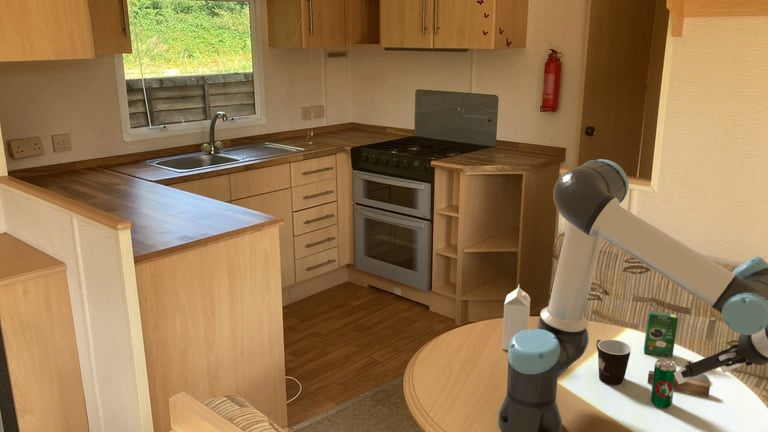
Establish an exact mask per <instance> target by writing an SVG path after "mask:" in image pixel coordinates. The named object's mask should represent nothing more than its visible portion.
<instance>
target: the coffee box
mask: <svg viewBox="0 0 768 432" xmlns="http://www.w3.org/2000/svg"><path fill="white" fill-rule="evenodd" d="M678 322H679V316H678V314H677V313H669V312H668V313H667V312H662V311H655V310H654V311H653V310H649V311H648V317H647V324H646V330H645V336H644V345H643V353H644V354H647V355H653V356H661V357H665V358H666V357H667V358H673V355H674V348H675V342H676V341H675V340H676V335H677V330H678Z"/></svg>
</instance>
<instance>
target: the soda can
mask: <svg viewBox="0 0 768 432" xmlns="http://www.w3.org/2000/svg"><path fill="white" fill-rule="evenodd" d="M653 371H654V375H653V384H651V385H652V386H651V395H650V402H651V404H652V405H653V406H654V407H656V408H658V409H663V410H665V409H666V410H667V409H669V408H670V407H672V405H673V399H674V384H675V375H674V373H675V372H677V366H676V363H675V362H674V361H673V360H671V359H669V358H663V357H662V358H657V360H656V362H655V363H654V367H653Z"/></svg>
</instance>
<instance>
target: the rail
mask: <svg viewBox="0 0 768 432" xmlns="http://www.w3.org/2000/svg"><path fill="white" fill-rule="evenodd" d="M653 375H654V370H648V375H647V384H650V385H652V384H653ZM710 388H711V383H709V382H708V383H703V382H699V381H694V380H688V381H686V382H684V383H681V384H678V381H677V379H676V377H675V384H674V390H675V391H679V392H683V393H687V394H690V395H691V394H692V395H696V396H700V395H701V397H704V396H706V397H705V398H709V395H710V390H711V389H710Z"/></svg>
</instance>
